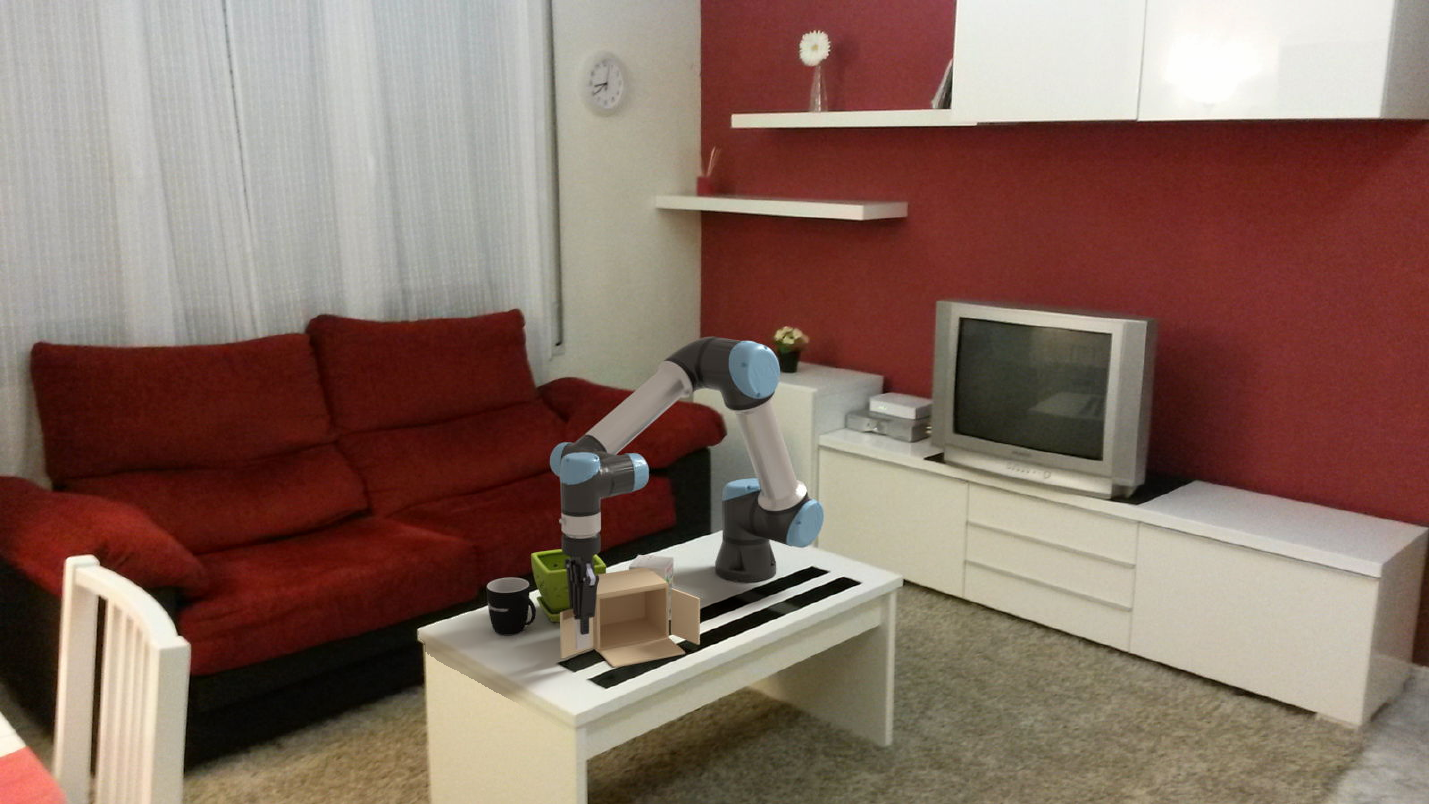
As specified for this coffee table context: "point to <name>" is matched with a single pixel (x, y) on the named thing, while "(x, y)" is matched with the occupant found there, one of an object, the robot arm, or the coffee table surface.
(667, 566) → the ink box
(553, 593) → the flower pot
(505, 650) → the coffee table surface
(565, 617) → the flap
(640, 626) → the carton
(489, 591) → the mug
